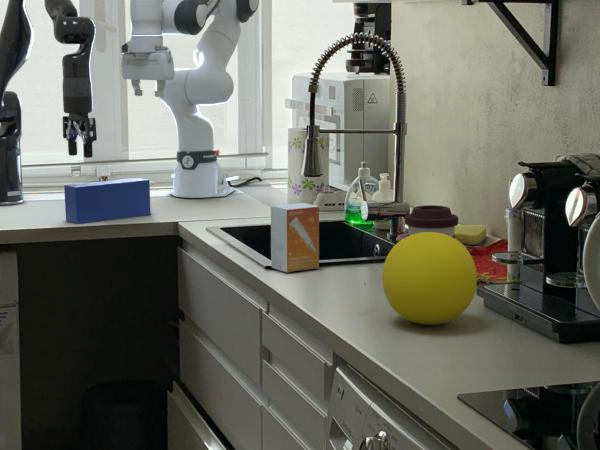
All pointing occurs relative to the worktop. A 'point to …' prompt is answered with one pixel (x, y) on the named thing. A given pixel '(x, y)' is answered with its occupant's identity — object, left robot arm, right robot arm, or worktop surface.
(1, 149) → the left robot arm
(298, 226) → the small box
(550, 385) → the worktop surface
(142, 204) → the box
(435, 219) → the coffee cup
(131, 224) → the worktop surface
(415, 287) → the toy
